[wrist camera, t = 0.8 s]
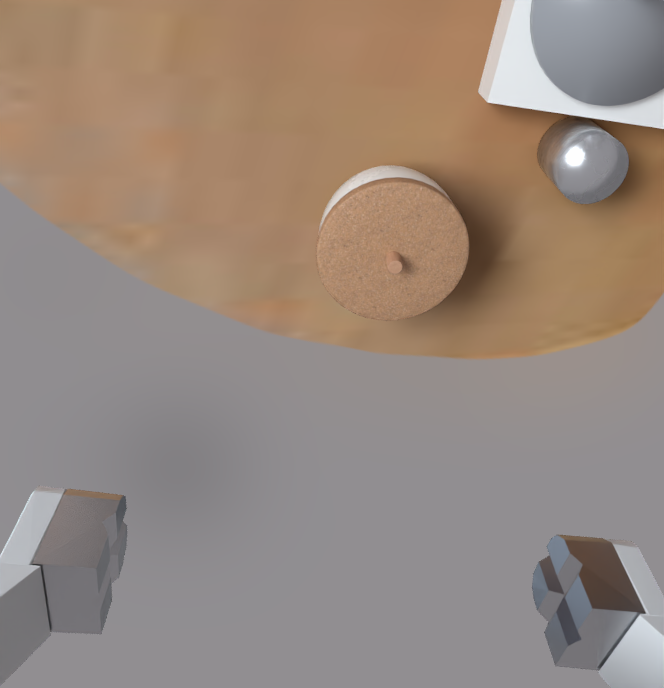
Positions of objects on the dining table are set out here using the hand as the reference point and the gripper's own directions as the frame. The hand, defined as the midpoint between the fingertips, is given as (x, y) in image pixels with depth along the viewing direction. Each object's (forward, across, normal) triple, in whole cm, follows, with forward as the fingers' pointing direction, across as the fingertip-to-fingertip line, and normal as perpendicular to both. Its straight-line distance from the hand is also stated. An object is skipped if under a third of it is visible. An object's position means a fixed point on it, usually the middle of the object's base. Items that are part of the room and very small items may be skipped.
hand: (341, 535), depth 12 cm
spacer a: (+40, -19, +2) cm, 44 cm away
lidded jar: (+40, -6, +9) cm, 41 cm away
